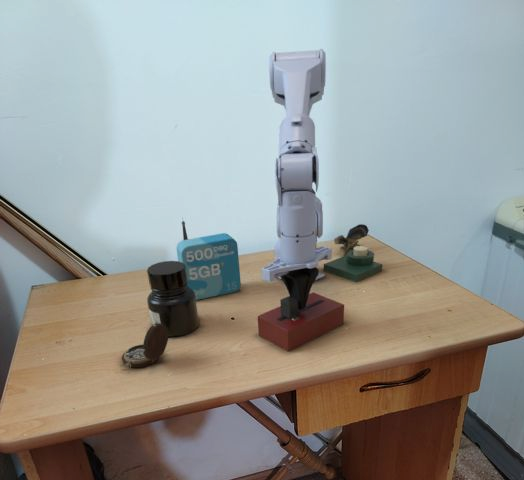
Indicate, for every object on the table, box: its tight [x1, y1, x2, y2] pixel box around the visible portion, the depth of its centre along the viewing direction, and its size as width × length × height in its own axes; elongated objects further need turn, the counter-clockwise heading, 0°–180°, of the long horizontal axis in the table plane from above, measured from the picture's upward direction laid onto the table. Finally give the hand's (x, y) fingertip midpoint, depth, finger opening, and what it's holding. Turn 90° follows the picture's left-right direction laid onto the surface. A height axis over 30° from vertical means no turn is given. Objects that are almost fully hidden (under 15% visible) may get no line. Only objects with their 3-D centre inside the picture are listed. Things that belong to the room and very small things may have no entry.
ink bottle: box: [146, 260, 200, 337], centre depth 87 cm, size 10×9×12 cm
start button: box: [353, 245, 369, 257], centre depth 109 cm, size 3×3×2 cm
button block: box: [323, 249, 383, 283], centre depth 109 cm, size 10×10×4 cm
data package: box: [176, 232, 242, 301], centre depth 100 cm, size 12×4×12 cm, turn 112°
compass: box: [119, 323, 169, 371], centre depth 78 cm, size 8×8×7 cm
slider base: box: [257, 292, 345, 352], centre depth 85 cm, size 8×14×4 cm, turn 130°
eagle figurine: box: [333, 223, 370, 256], centre depth 119 cm, size 8×7×9 cm
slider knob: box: [279, 295, 298, 319], centre depth 82 cm, size 2×2×3 cm
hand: (298, 307), depth 84 cm, fingers closed
